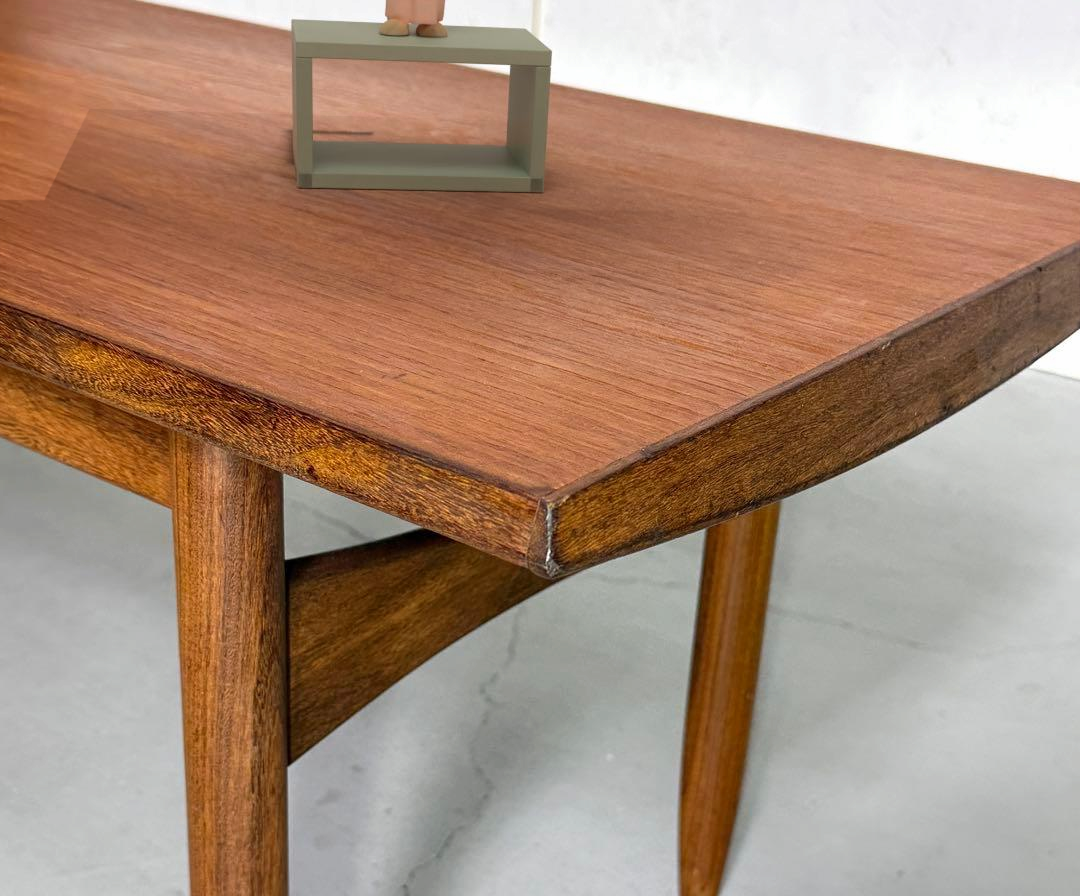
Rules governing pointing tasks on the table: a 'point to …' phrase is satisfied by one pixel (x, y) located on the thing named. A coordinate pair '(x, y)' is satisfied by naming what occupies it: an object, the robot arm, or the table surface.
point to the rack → (416, 161)
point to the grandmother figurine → (414, 17)
